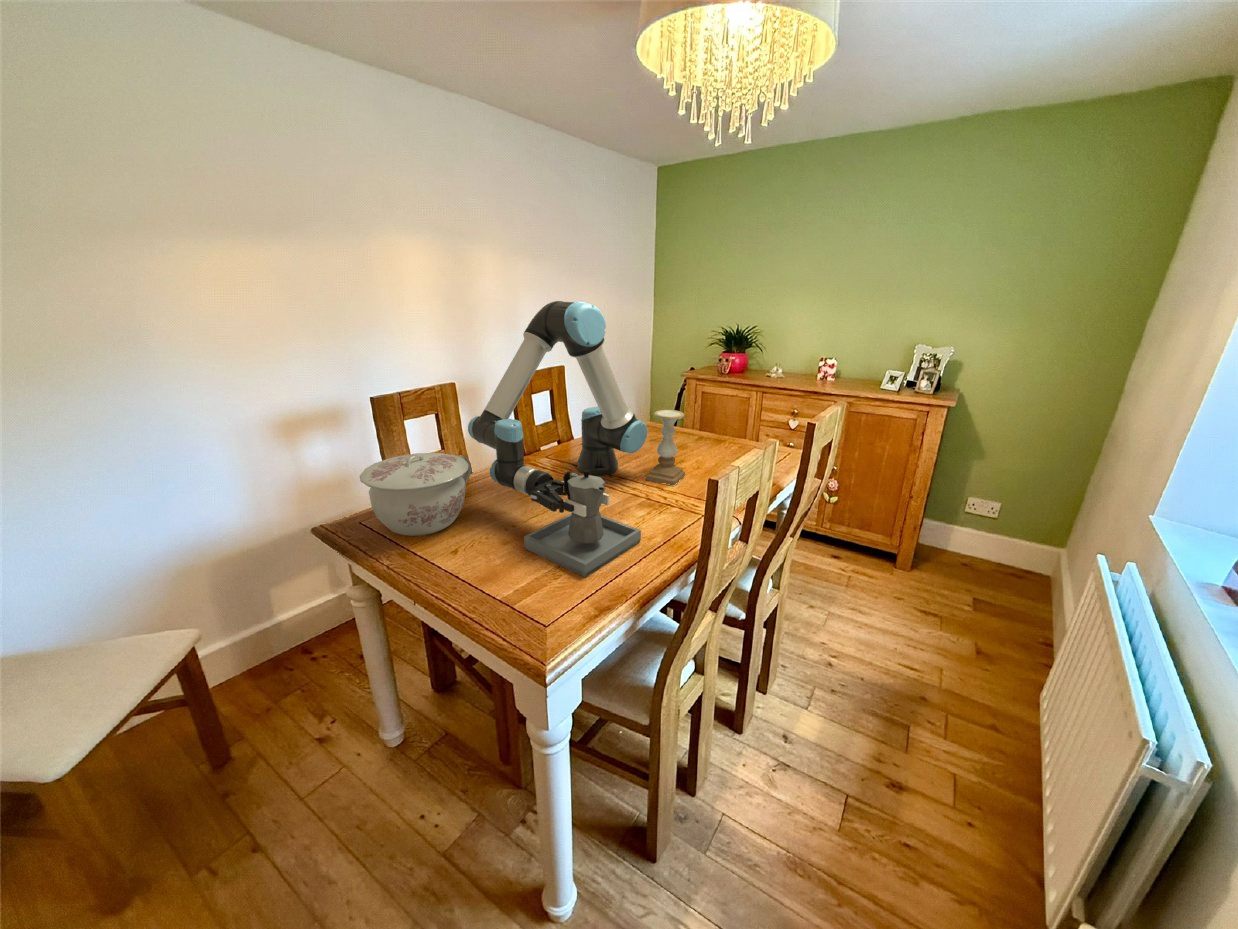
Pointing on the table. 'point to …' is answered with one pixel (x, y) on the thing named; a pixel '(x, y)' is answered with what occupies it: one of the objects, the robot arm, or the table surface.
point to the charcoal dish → (582, 545)
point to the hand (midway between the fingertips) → (597, 505)
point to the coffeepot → (590, 495)
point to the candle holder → (667, 451)
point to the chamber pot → (417, 491)
